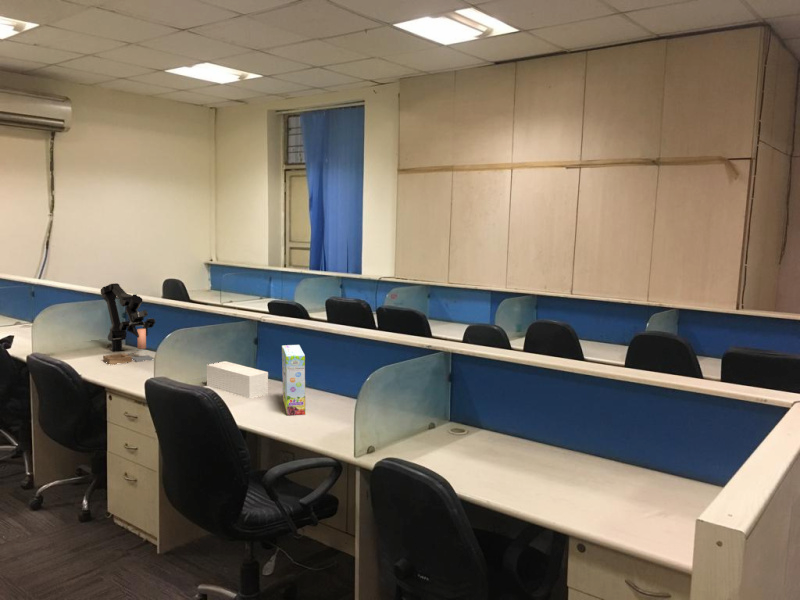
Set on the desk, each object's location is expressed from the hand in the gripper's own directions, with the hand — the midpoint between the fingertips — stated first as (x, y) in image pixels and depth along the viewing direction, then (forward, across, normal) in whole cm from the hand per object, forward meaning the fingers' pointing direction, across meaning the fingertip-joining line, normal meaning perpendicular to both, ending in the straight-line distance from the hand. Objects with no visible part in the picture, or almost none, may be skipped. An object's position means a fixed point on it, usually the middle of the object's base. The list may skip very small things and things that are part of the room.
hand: (142, 336), depth 353 cm
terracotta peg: (+4, 0, +6) cm, 7 cm away
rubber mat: (+8, 0, +10) cm, 13 cm away
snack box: (+100, +5, -82) cm, 129 cm away
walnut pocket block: (+7, -13, +12) cm, 19 cm away
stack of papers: (+72, +3, -53) cm, 89 cm away
